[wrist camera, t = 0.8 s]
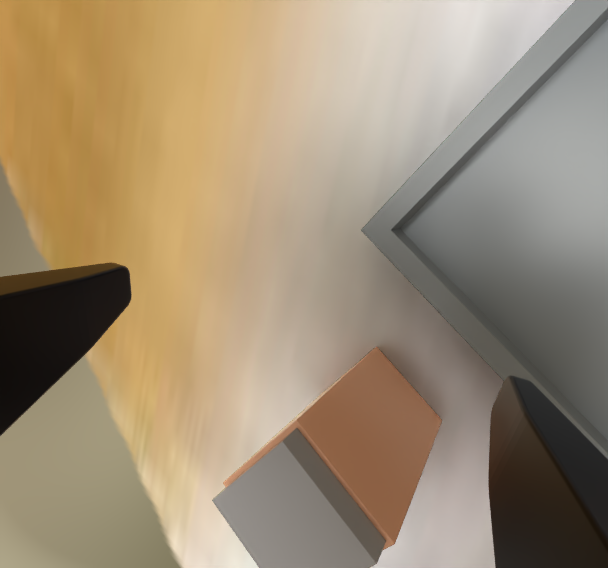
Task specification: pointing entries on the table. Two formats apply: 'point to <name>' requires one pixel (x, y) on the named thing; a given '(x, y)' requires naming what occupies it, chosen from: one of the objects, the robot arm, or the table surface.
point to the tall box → (335, 474)
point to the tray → (523, 221)
